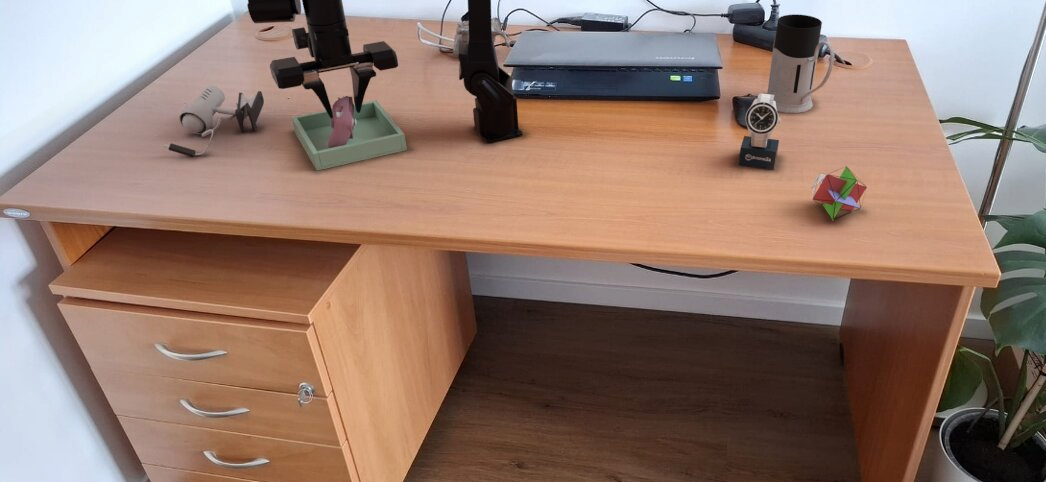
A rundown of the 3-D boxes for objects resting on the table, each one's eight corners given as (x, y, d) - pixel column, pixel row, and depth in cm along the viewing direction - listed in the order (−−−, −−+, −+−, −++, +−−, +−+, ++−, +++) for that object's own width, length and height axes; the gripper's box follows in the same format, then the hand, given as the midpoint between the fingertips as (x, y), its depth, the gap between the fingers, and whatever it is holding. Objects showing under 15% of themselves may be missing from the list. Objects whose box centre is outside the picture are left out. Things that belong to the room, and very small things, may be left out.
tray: (379, 115, 145) (376, 100, 143) (406, 150, 134) (404, 134, 132) (295, 132, 139) (291, 117, 137) (316, 170, 128) (313, 154, 126)
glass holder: (793, 90, 154) (804, 10, 145) (842, 119, 143) (857, 35, 135) (754, 98, 151) (763, 17, 142) (801, 128, 140) (814, 43, 132)
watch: (736, 171, 128) (744, 105, 121) (743, 148, 134) (751, 84, 128) (772, 175, 127) (782, 109, 120) (778, 152, 133) (787, 88, 127)
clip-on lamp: (229, 175, 133) (272, 108, 145) (218, 145, 128) (264, 78, 140) (159, 165, 133) (208, 99, 145) (145, 135, 128) (197, 69, 140)
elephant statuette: (462, 46, 173) (458, 10, 169) (517, 49, 172) (515, 12, 168) (450, 62, 166) (446, 25, 161) (508, 65, 164) (506, 27, 160)
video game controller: (358, 154, 131) (355, 113, 127) (328, 154, 130) (324, 112, 126) (359, 128, 139) (356, 88, 135) (331, 128, 138) (327, 88, 134)
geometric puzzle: (864, 185, 120) (840, 147, 115) (883, 209, 114) (858, 170, 110) (822, 213, 122) (796, 177, 117) (838, 238, 116) (812, 201, 112)
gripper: (371, -4, 134) (385, 86, 143) (252, 14, 127) (276, 108, 136) (391, 15, 126) (405, 109, 135) (266, 35, 119) (290, 134, 128)
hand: (344, 114), depth 134 cm, fingers closed on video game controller, 4 cm apart
